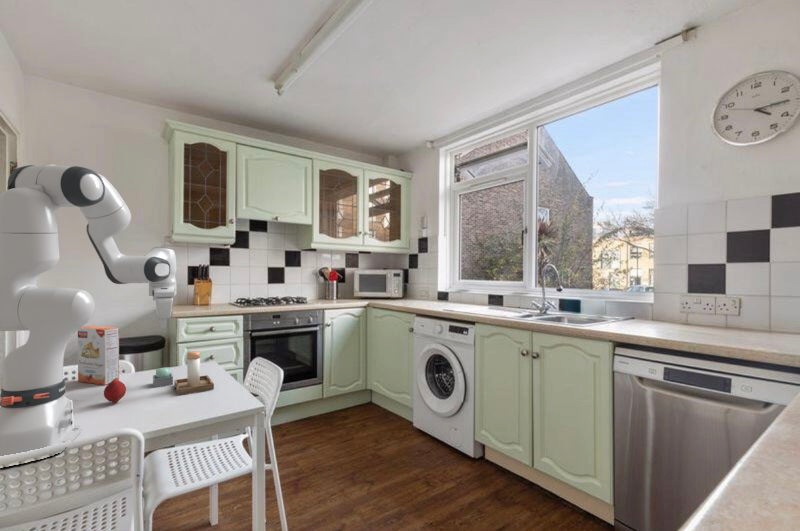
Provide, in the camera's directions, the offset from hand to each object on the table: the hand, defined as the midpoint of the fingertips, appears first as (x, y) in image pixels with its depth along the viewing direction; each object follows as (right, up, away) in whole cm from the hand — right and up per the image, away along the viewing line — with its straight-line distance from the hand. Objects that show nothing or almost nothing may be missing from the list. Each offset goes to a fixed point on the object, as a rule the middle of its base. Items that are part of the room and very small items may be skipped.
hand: (162, 327), depth 144 cm
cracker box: (-26, -21, +3) cm, 34 cm away
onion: (-3, -21, -19) cm, 29 cm away
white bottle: (+14, -20, -4) cm, 25 cm away
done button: (0, -20, 0) cm, 20 cm away
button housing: (0, -21, 0) cm, 21 cm away
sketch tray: (+14, -21, -4) cm, 25 cm away
